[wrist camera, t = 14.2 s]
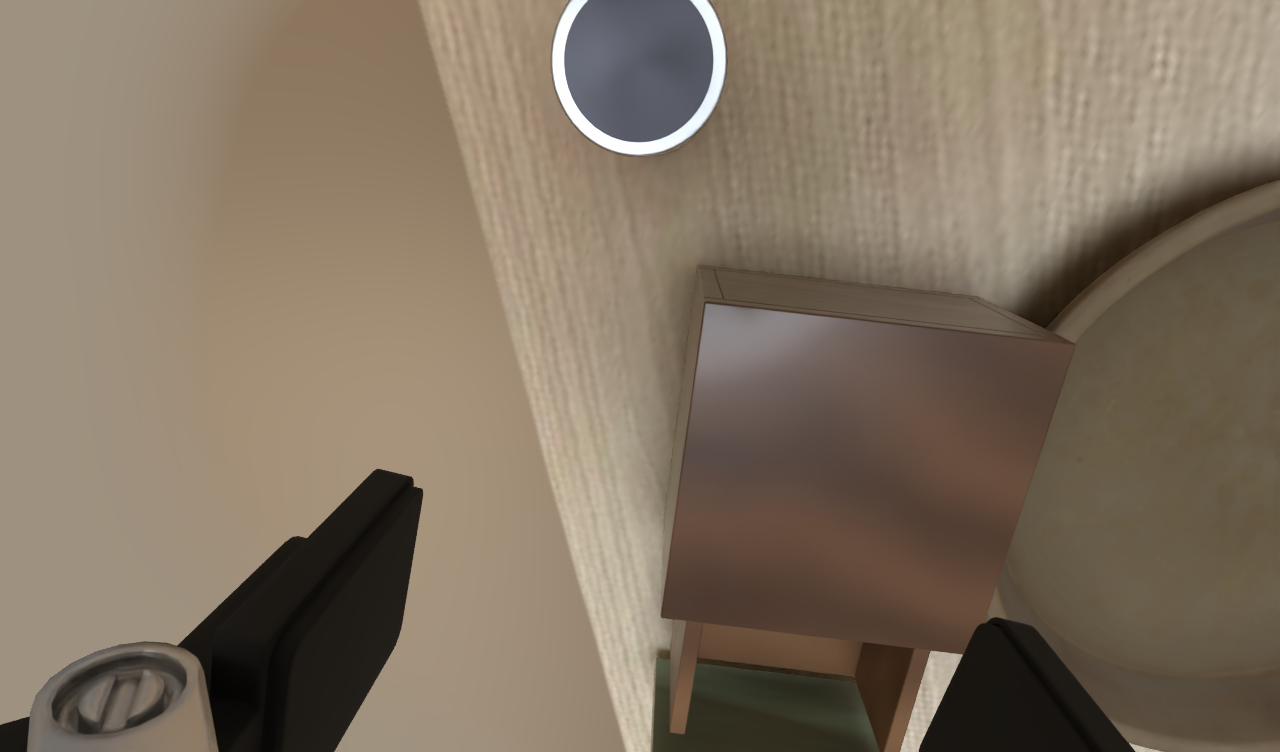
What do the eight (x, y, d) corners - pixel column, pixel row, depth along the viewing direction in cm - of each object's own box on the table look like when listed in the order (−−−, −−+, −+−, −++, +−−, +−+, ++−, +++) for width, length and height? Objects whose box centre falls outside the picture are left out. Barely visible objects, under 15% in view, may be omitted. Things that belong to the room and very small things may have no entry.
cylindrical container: (605, 33, 30) (555, -49, 18) (714, 45, 30) (741, -29, 18) (595, 149, 32) (544, 146, 19) (699, 160, 32) (714, 166, 19)
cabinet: (909, 548, 38) (974, 656, 30) (663, 518, 38) (660, 618, 30) (978, 296, 33) (1077, 343, 25) (697, 264, 33) (704, 301, 25)
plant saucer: (1727, 203, 30) (1906, 211, 25) (1390, 730, 40) (1477, 801, 35) (1038, 112, 30) (1099, 105, 26) (875, 658, 40) (899, 720, 36)
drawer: (850, 753, 42) (882, 863, 35) (646, 727, 42) (640, 832, 35) (918, 503, 36) (971, 580, 29) (681, 475, 36) (682, 545, 30)
